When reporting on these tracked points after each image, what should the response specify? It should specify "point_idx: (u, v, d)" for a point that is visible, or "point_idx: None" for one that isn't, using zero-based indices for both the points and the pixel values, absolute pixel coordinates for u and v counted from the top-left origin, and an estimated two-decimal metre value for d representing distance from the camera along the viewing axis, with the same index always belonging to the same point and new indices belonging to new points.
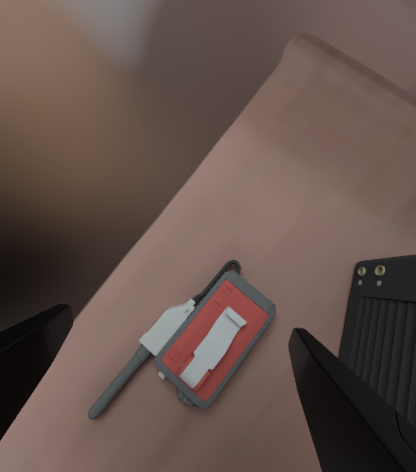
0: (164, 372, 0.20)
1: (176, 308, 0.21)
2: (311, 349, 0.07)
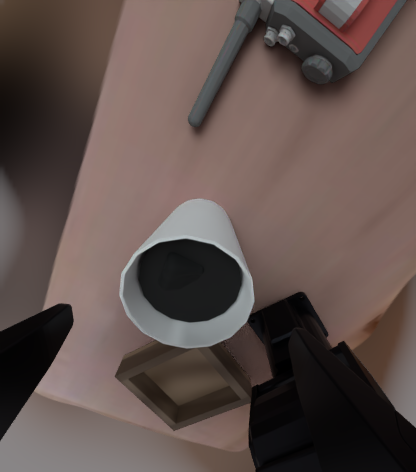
0: (294, 16, 0.12)
1: None
2: (311, 349, 0.07)
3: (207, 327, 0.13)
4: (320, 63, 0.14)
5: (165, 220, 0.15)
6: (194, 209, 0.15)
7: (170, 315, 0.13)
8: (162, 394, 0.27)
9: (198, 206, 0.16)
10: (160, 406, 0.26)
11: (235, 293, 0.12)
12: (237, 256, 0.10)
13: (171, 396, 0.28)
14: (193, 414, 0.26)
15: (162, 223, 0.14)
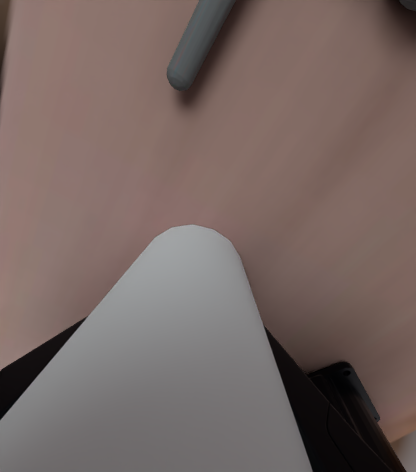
0: None
1: None
2: None
3: None
4: None
5: (117, 283, 0.07)
6: (176, 262, 0.07)
7: None
8: None
9: (185, 250, 0.08)
10: None
11: None
12: None
13: None
14: None
15: (107, 295, 0.07)
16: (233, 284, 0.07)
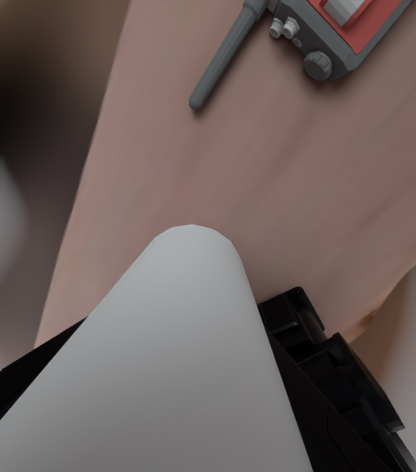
0: (300, 9, 0.13)
1: None
2: None
3: None
4: (321, 59, 0.14)
5: (118, 283, 0.07)
6: (176, 262, 0.07)
7: None
8: None
9: (186, 250, 0.08)
10: None
11: None
12: None
13: None
14: None
15: (107, 294, 0.07)
16: (233, 284, 0.07)
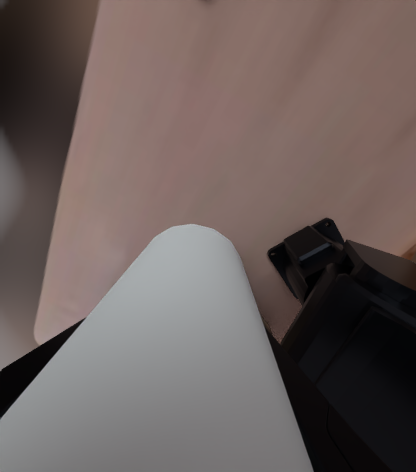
0: None
1: None
2: None
3: None
4: None
5: (117, 282, 0.07)
6: (176, 261, 0.07)
7: None
8: None
9: (185, 250, 0.08)
10: None
11: None
12: None
13: None
14: None
15: (107, 294, 0.07)
16: (233, 283, 0.07)
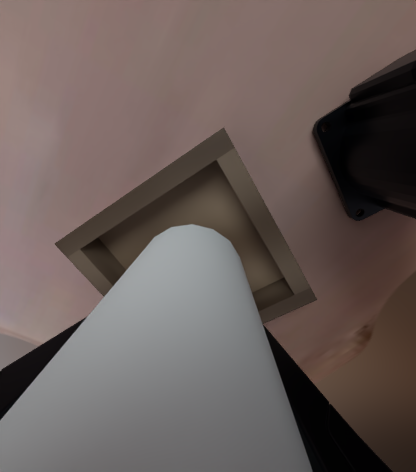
0: None
1: None
2: None
3: None
4: None
5: (117, 283, 0.07)
6: (175, 262, 0.07)
7: None
8: None
9: (185, 250, 0.08)
10: None
11: None
12: None
13: None
14: None
15: (106, 295, 0.07)
16: (233, 284, 0.07)
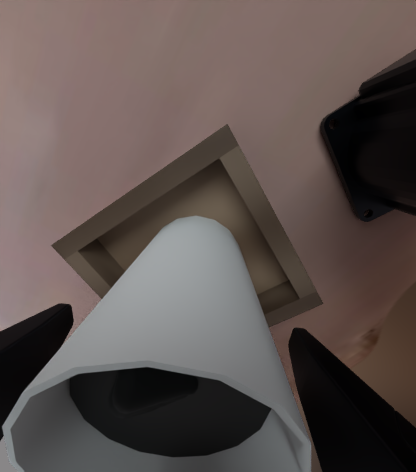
0: None
1: None
2: (311, 349, 0.07)
3: None
4: None
5: (135, 260, 0.09)
6: (183, 242, 0.09)
7: (136, 447, 0.07)
8: None
9: (191, 234, 0.10)
10: None
11: (259, 418, 0.06)
12: (279, 401, 0.04)
13: None
14: None
15: (128, 269, 0.08)
16: (231, 260, 0.09)
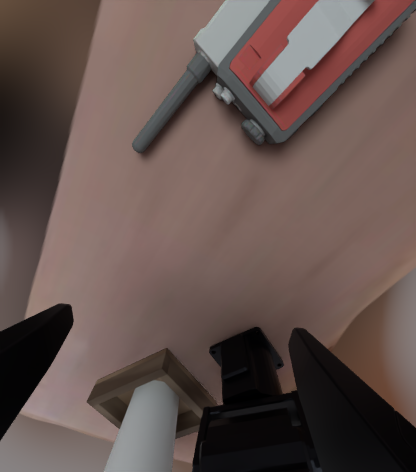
0: (232, 84, 0.14)
1: None
2: (311, 349, 0.07)
3: None
4: (253, 128, 0.15)
5: (124, 428, 0.23)
6: (142, 421, 0.23)
7: None
8: None
9: (147, 411, 0.23)
10: None
11: None
12: None
13: None
14: None
15: (121, 435, 0.22)
16: (161, 428, 0.23)
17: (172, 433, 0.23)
